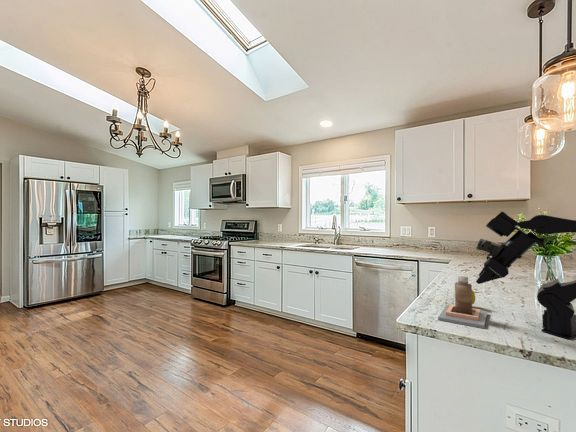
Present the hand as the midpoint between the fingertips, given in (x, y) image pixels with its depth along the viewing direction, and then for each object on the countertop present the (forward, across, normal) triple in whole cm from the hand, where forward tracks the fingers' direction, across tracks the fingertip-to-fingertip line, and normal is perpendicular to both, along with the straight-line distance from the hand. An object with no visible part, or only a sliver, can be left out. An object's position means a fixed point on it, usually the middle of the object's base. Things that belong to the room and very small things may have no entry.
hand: (478, 279), depth 96 cm
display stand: (+13, +2, +5) cm, 14 cm away
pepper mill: (+12, +2, +5) cm, 13 cm away
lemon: (+14, -11, +6) cm, 19 cm away
